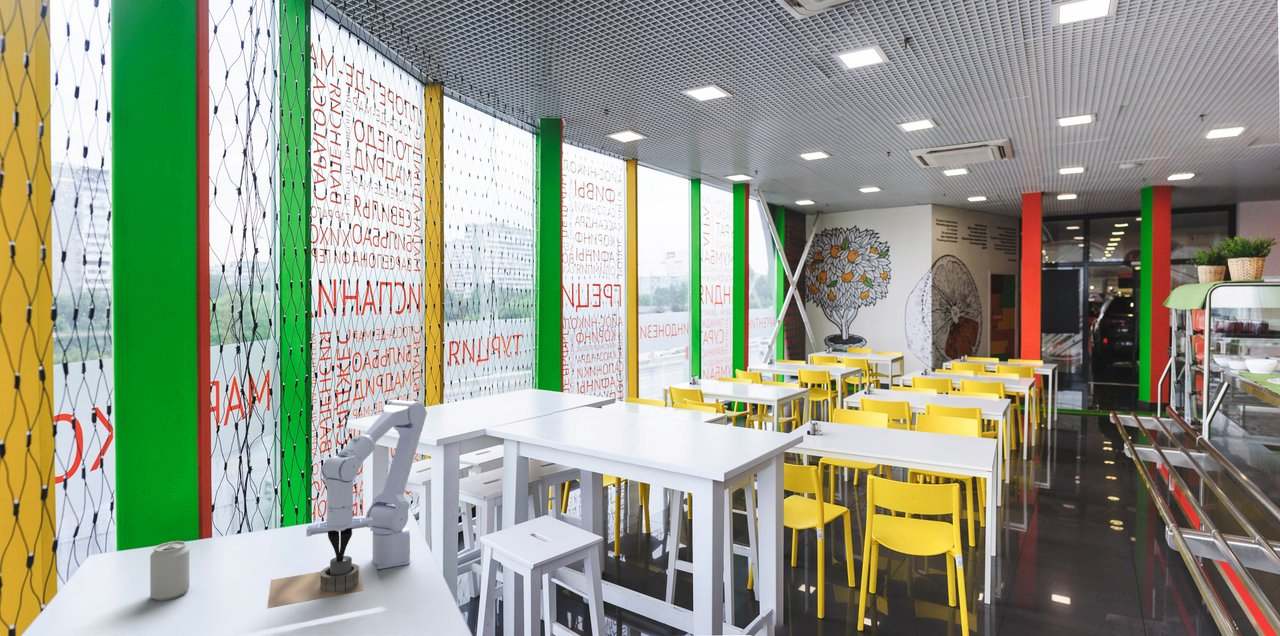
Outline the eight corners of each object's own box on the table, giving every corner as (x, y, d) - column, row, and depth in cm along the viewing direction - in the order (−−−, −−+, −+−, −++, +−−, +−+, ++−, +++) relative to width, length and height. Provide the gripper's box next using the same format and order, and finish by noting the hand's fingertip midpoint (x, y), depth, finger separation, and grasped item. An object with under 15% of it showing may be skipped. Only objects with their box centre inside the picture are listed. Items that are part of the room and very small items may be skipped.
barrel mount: (358, 568, 164) (359, 552, 164) (363, 594, 150) (363, 575, 150) (271, 583, 154) (271, 566, 154) (267, 612, 140) (267, 592, 140)
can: (146, 604, 143) (146, 553, 143) (154, 591, 149) (154, 542, 149) (186, 598, 146) (186, 547, 146) (192, 585, 153) (192, 537, 153)
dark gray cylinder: (351, 578, 156) (352, 554, 156) (350, 586, 151) (351, 562, 151) (330, 580, 154) (330, 557, 154) (328, 589, 149) (329, 565, 149)
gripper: (306, 514, 145) (306, 571, 145) (373, 505, 152) (373, 560, 152) (306, 505, 151) (306, 560, 152) (370, 497, 158) (370, 550, 159)
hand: (339, 559), depth 152 cm, fingers closed
